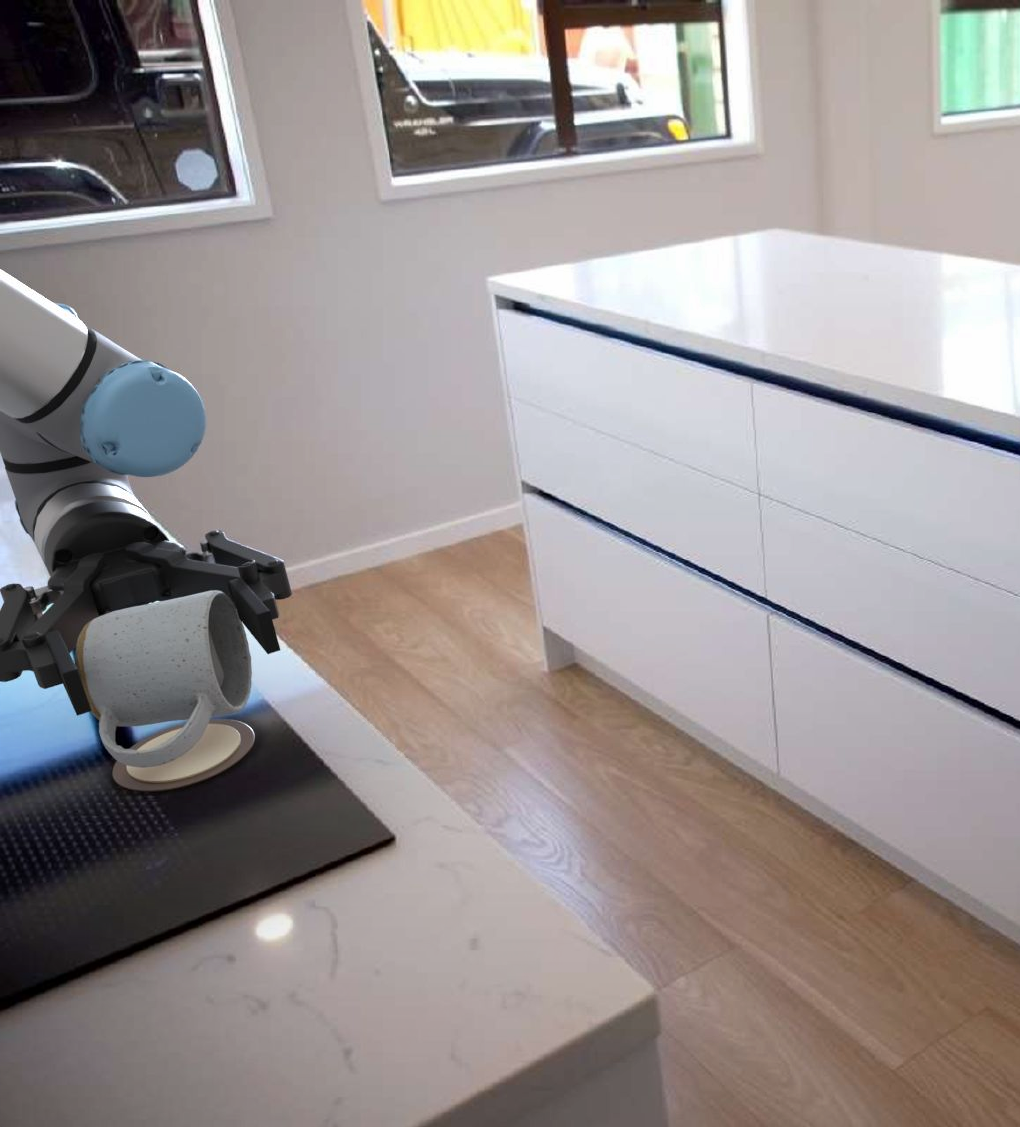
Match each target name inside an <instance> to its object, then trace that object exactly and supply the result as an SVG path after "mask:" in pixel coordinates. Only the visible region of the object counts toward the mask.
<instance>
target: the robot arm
mask: <svg viewBox="0 0 1020 1127" xmlns="http://www.w3.org/2000/svg"><path fill="white" fill-rule="evenodd" d="M206 426H207V414H206V409H205V405H204V402H203V400H202V398H201V396H200V394H199V392H198V391H197V389H196V388H195V387H194V386H193V384H192V383H191V382H190V381H189V380H187V379H186V377H184V376H182V375H181V374H180V373H177V372H175V371H173V370H171V369H169V368H167V367H166V366H164V365H163V364H162V363H159V362H156V361H151V360H146V359H141V358H139V357H137V356H136V355H135V354H132V353H131V352H130V351H129V350H126V349H125V348H123V347H122V346H121V345H119V344H117V343H116V342H114V341H112V340H111V339H109V338H108V337H107V336H105V335H104V334H102V333H100V332H98V331H97V330H95V329H93V328H91V327H90V326H88V325H86V324H84V323H83V321H82V320H80V319H79V317H78V314H77V312H76V311H75V310H74V308H72V307H71V306H69V305H67V304H64V303H59V302H52V301H51V300H49V299H47V298H45V297H44V296H43V295H42V294H39V293H38V292H36V291H35V290H34V289H31V288H30V287H28V286H27V285H26V284H24V283H23V282H21V281H19V280H18V279H17V278H15V277H13V276H12V275H11V274H9V273H7V272H5V271H4V270H2V269H1V268H0V456H1V459H2V462H3V464H4V470H5V473H6V477H7V479H8V481H9V484H10V487H11V490H12V492H13V496H14V498H15V500H14V506H15V510H16V512H17V515H18V517H19V522H20V525H21V527H22V528H23V530H24V532H25V533H26V534H27V535H29V537H30V538H31V540H32V541H33V543H34V545H35V547H36V550H37V552H38V554H39V556H40V558H41V560H42V562H43V564H44V566H45V568H46V570H47V572H48V575H49V578H48V580H47V583H46V585H45V586H42V587H38V588H35V587H34V586H31V585H30V586H25V587H23V586H22V584H21V583H8V584H6V585H4V586H2V587H0V595H1V599H2V600H3V603H2V605H1V607H0V683H1V682H3V683H8V682H11V681H14V680H16V679H18V678H20V677H21V676H22V674H23V672H25V671H27V672H28V671H30V672H33V675H34V677H35V679H36V682H37V686H39V688H41V689H43V690H47V689H50V688H53V687H56V686H60V685H63V687H64V690H65V692H66V695H67V696H68V698H69V702H70V703H71V705H72V708H73V711H74V712H75V714H76V716H81V715H84V714H87V713H91V711H92V710H91V707H90V704H89V702H88V699H87V696H86V693H85V690H84V687H83V684H82V682H81V679H80V676H79V673H78V670H77V668H76V666H75V660H74V659H73V657H72V655H71V653H72V652H73V650H75V649H76V645H77V640H78V637H79V635H80V633H81V631H82V630H83V628H84V626H85V625H86V624H87V623H88V622H90V621H91V620H93V619H95V618H97V617H100V616H102V615H105V614H108V613H110V612H113V611H117V610H121V609H126V608H130V607H135V606H141V605H146V604H151V603H156V602H161V601H166V600H171V599H176V598H180V597H185V596H189V595H194V594H198V593H202V592H207V591H214V590H218V591H222V592H223V593H225V594H226V595H227V596H228V597H229V598H230V599H231V601H232V602H233V603H234V605H235V607H236V609H237V612H238V616H239V619H240V620H241V621H242V624H243V626H245V629H247V630H248V632H249V633H250V634H251V635H252V637H253V638H254V639H255V641H256V642H257V643H258V644H259V645H260V647H261V648H262V649H263V650H264V652H265V653H266V654H267V655H271V654H274V653H276V652H279V651H281V647H280V643H279V640H278V636H277V632H276V628H275V624H274V621H273V620H276V619H279V617H280V612H279V608H278V604H277V601H279V600H286V599H288V598H290V597H291V596H292V595H293V592H292V588H291V584H290V581H289V580H290V579H289V577H288V572H287V569H286V566H285V561H284V559H281V558H279V557H278V556H277V557H276V556H274V555H271V554H269V553H266V552H263V551H261V550H258V549H255V548H253V547H250V546H247V545H244V544H243V543H239V542H237V541H234V540H232V539H229V538H228V537H227V535H226V533H225V532H224V530H221V529H219V530H217V529H215V530H212V531H208V532H207V533H205V534H204V538H205V539H203V540H201V541H199V545H197V546H192V547H189V548H188V547H187V548H185V546H184V545H182V544H181V543H178V542H172V541H171V540H170V539H169V538H168V536H167V535H166V533H165V532H164V531H163V529H162V528H161V527H160V526H159V525H158V523H157V522H156V521H155V519H154V518H153V517H152V515H151V514H150V513H149V512H148V511H147V509H146V508H145V507H144V506H143V504H141V501H139V499H138V498H137V497H136V495H135V494H134V491H133V489H132V487H131V484H130V480H129V476H133V477H136V478H155V477H162V476H166V475H168V474H170V473H173V472H176V471H177V470H178V469H181V468H182V467H183V466H184V465H186V464H187V463H188V462H189V461H190V460H191V459H192V458H193V457H194V455H195V454H196V453H197V452H198V449H199V447H200V446H201V445H202V442H203V439H204V436H205V435H206V434H205V433H206ZM48 606H49V607H48ZM47 607H48V608H47ZM43 612H44V613H43Z"/></svg>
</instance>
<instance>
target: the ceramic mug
mask: <svg viewBox="0 0 1020 1127" xmlns="http://www.w3.org/2000/svg"><path fill="white" fill-rule="evenodd" d="M244 626H245V625H244V624H243V623H242V621H241V620H240V619H239V616H238V612H237V609H236V607H235V605H234V603H233V602H232V601H231V599H230V598H229V597H228V596H227V595H226V594H225V593H223V592H222V591H218V590H214V591H207V592H202V593H198V594H194V595H189V596H185V597H180V598H176V599H171V600H166V601H156V602H154V603H149V604H146V605H141V606H135V607H130V608H126V609H121V610H117V611H113V612H110V613H108V614H105V615H102V616H100V617H97V618H95V619H93V620H91V621H90V622H88V623H87V624H86V625H85V626H84V628H83V630H82V631H81V633H80V635H79V637H78V640H77V645H76V647H75V649H74V664H75V666H76V668H77V670H78V673H79V676H80V679H81V682H82V684H83V687H84V690H85V693H86V696H87V699H88V702H89V704H90V707H91V710H92V711H90V713H91V714H92V715H93V716H94V718H96V719H97V720H98V721H99V722H98V726H99V727H98V733H99V736H100V739H101V740H100V741H101V742H102V744H103V747H104V748H105V749H106V750H107V752H108V753H109V755H111V756H112V758H113V759H114V760H115V761H116V762H117V761H119V762H120V763H123V764H125V765H128V766H132V767H141V768H145V767H153V766H159V765H163V764H166V763H169V762H171V761H173V760H176V759H177V758H178V757H181V756H182V755H183V754H185V753H186V752H188V751H189V750H190V749H191V748H193V746H194V745H195V744H196V743H197V742H198V741H199V740H200V738H201V737H202V735H203V733H204V731H205V729H206V727H207V725H208V723H209V721H210V719H212V717H218V716H227V715H232V714H237V713H239V712H241V711H242V710H244V708H245V707H246V705H247V703H248V701H249V699H250V695H251V690H252V677H253V676H252V675H253V669H252V667H253V666H252V655H251V651H250V644H249V641H248V638H247V633H246V630H245V627H244ZM176 721H186V722H185V723H186V724H185V723H184V724H185V726H184V727H183V728H182V729H181V730H180V731H179V732H178V733H177V734H176V735H175V736H173V737H172V738H170V739H169V740H168V741H167V742H165V743H163V744H161V745H159V746H157V747H155V748H152V749H149V750H140V751H137V750H133V749H129V748H124V747H123V746H122V745H118V744H117V743H116V731H117V727H142V726H148V725H155V724H162V723H167V722H176Z"/></svg>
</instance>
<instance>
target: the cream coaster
mask: <svg viewBox="0 0 1020 1127" xmlns="http://www.w3.org/2000/svg"><path fill="white" fill-rule="evenodd" d="M186 723H187V722H184V723H180V724H178V725H174V726H171V727H168V728H166V729H163V730H160V731H158V732H155V733H153V734H151V735H149V736H147V737H145V738H143V739H141V740H140V741H137V743H135V744H133V745H132V746H131V747H129V748H128V749H133V750H137V751H140V750H149V749H152V748H155V747H157V746H159V745H161V744H163V743H165V742H167V741H168V740H169V739H170V738H172V737H173V736H175V735H176V734H177V733H178V732H179V731H180V730H181V729H182V728H183V727H184V726H185V724H186ZM255 740H256V735H255V732H254V730H253V729H252V727H251V726H249V725H248V724H247V723H244V722H242V721H240V720H239V721H238V720H235V719H228V718H210V721H209V723H208V725H207V727H206V729H205V731H204V733H203V735H202V737H201V738H200V740H199V741H198V742H197V743H196V744H195V745H194V746H193V748H191V749H190V750H189V751H188V752H186V753H185V754H183V755H182V756H181V757H178V758H177V759H176V760H173V761H171V762H169V763H166V764H163V765H159V766H153V767H145V768H141V767H132V766H128V765H125V764H123V763H120V762H119V761H117V760H116V761H115V763H114V765H113V768H112V773H111V774H112V778H113V781H114V782H115V784H117V785H118V786H119V787H121V788H123V789H125V790H128V791H133V792H141V793H158V792H166V791H173V790H177V789H182V788H185V787H189V786H192V785H195V784H196V785H197V784H199V783H201V782H204V781H207V780H209V779H211V778H214V777H216V776H218V775H220V774H222V773H224V772H226V771H227V770H229V769H231V768H232V767H234V766H235V765H236V764H238V763H240V762H241V761H242V760H243V759H244V758H245V757H246V756H247V755H248V754H249V753H250V751H251V750H252V749H253V746H254V745H255V742H256V741H255Z"/></svg>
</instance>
